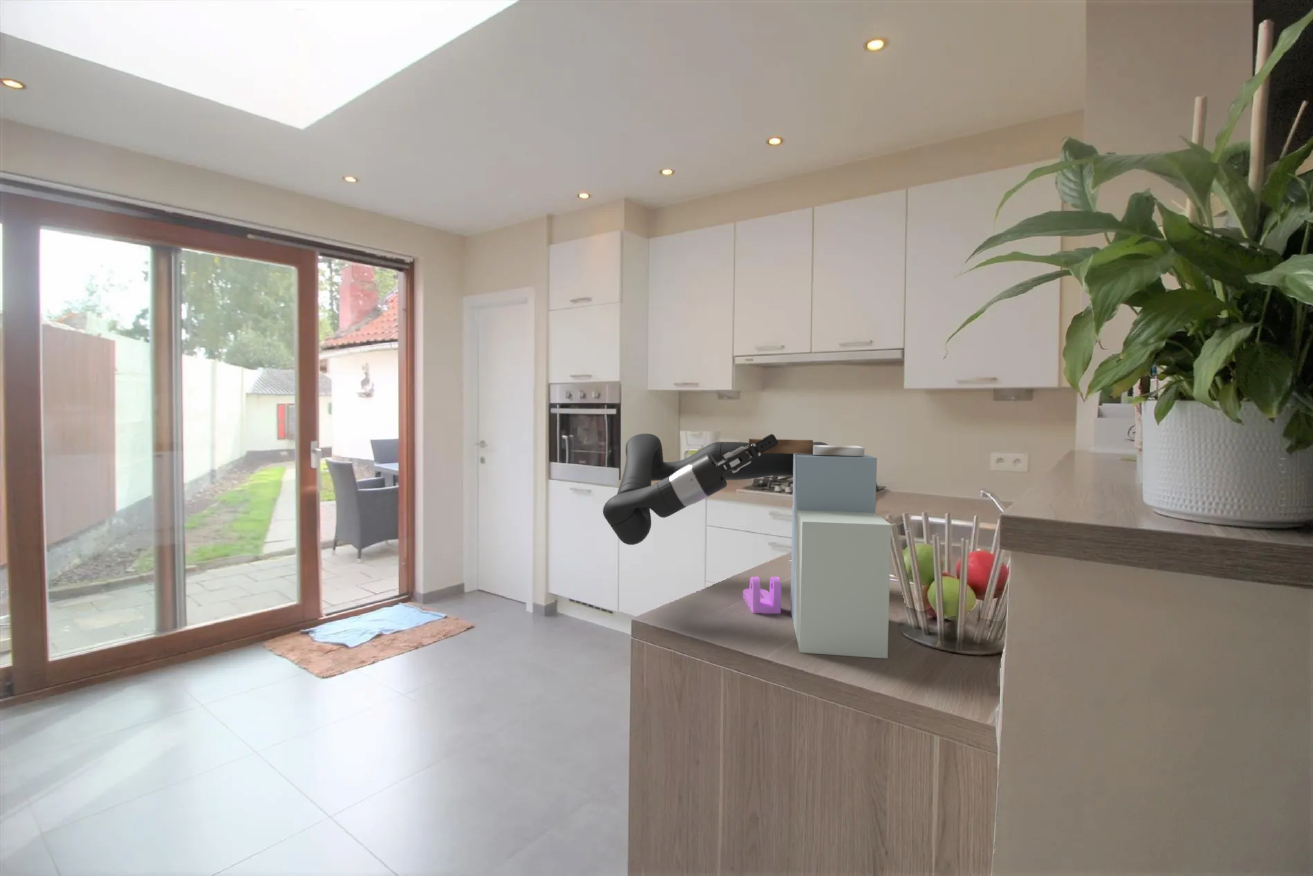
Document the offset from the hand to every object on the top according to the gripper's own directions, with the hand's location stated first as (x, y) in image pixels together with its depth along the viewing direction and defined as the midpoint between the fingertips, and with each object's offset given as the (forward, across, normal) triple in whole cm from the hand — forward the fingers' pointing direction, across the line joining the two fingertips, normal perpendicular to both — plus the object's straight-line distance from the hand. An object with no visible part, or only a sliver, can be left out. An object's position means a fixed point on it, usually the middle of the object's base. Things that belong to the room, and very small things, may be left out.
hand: (775, 438), depth 115 cm
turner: (+3, 0, +5) cm, 6 cm away
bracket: (-20, +8, +30) cm, 36 cm away
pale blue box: (-8, -6, +36) cm, 37 cm away
